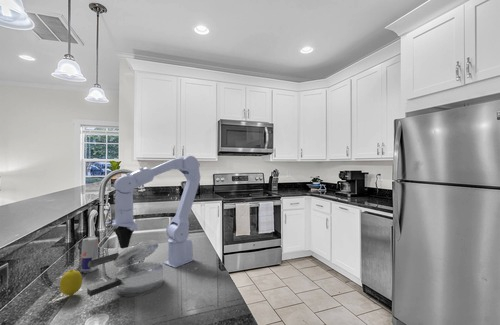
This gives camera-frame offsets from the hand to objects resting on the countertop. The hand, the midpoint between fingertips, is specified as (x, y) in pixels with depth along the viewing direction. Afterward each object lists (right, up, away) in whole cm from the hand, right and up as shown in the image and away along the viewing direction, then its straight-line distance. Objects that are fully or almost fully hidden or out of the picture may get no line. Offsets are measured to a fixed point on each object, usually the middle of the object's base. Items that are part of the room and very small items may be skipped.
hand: (124, 247), depth 86 cm
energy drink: (-16, -11, +6) cm, 21 cm away
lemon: (-10, -11, -13) cm, 19 cm away
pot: (+6, -10, -10) cm, 16 cm away
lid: (+5, 0, -8) cm, 10 cm away
